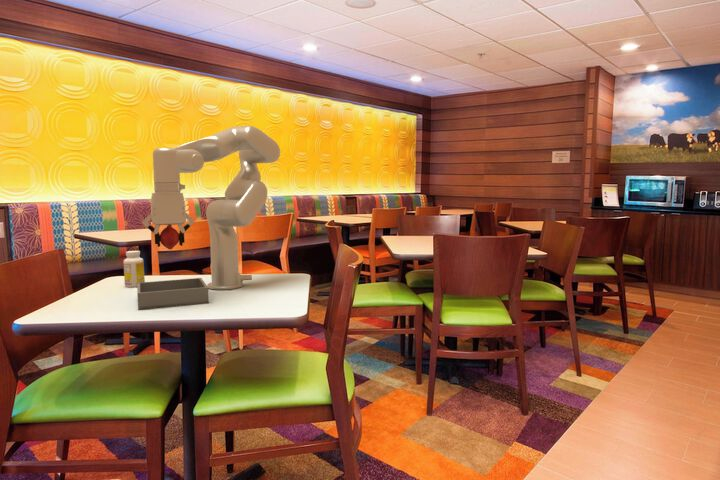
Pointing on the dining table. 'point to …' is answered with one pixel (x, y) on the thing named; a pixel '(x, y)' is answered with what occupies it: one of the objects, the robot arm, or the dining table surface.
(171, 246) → the onion
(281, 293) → the dining table surface
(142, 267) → the supplement bottle
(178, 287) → the bin
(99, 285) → the dining table surface
